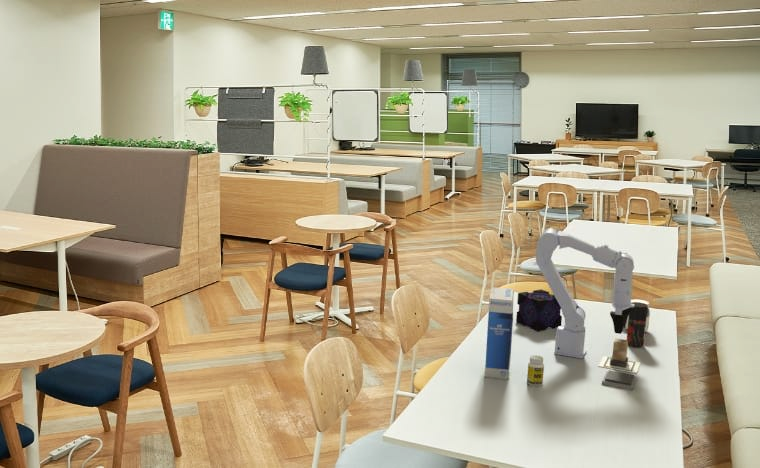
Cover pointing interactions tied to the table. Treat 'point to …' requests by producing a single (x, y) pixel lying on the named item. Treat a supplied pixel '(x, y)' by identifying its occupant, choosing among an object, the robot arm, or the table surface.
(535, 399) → the table surface
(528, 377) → the supplement bottle
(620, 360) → the stamp
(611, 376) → the ink pad
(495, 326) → the string lights box
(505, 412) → the table surface
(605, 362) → the marked card
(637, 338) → the deodorant
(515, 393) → the table surface
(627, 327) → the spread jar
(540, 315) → the energy cube
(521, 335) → the table surface
